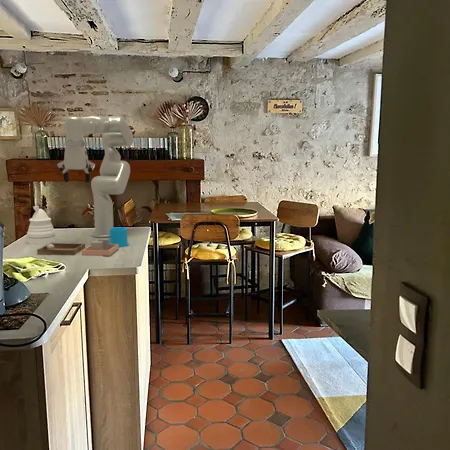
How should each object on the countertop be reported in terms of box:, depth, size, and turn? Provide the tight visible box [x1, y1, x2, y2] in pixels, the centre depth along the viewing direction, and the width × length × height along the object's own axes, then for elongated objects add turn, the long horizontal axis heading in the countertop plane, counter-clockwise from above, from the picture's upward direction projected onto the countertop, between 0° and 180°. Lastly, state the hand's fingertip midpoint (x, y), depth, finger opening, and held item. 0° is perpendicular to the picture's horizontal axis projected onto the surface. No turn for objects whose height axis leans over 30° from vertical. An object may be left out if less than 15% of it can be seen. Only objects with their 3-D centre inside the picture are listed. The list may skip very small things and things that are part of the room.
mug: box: [109, 226, 128, 248], centre depth 218 cm, size 12×8×8 cm
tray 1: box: [36, 242, 86, 256], centre depth 201 cm, size 14×16×2 cm
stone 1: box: [90, 240, 103, 250], centre depth 198 cm, size 4×4×5 cm
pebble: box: [47, 243, 55, 250], centre depth 201 cm, size 3×3×3 cm
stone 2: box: [97, 237, 110, 250], centre depth 204 cm, size 4×4×5 cm
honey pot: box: [26, 205, 57, 245], centre depth 220 cm, size 13×13×18 cm
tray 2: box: [81, 244, 120, 257], centre depth 201 cm, size 14×12×2 cm
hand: (77, 182), depth 210 cm, fingers open, 9 cm apart
